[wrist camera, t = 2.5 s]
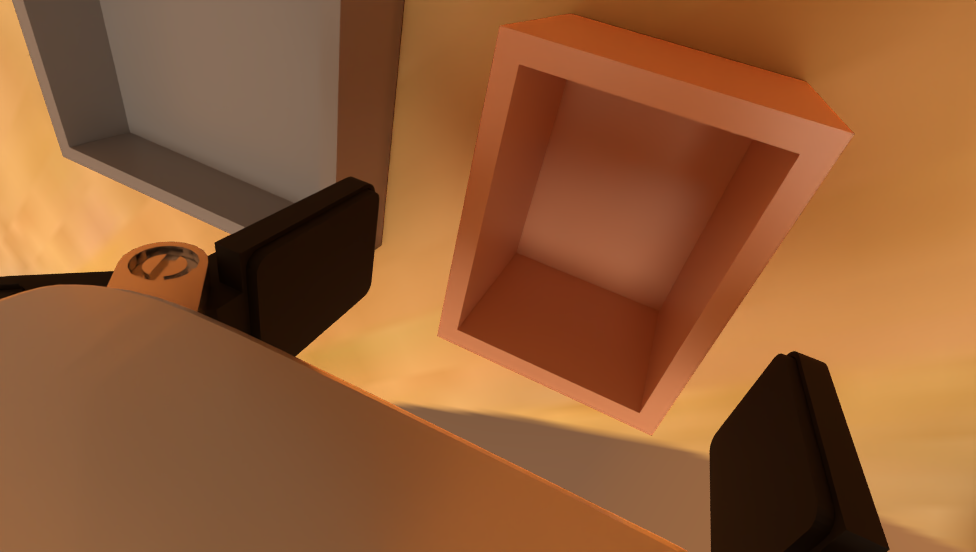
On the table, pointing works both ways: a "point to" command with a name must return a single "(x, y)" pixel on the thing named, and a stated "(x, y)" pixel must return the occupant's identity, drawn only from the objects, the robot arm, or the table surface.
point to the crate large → (221, 96)
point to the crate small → (624, 207)
